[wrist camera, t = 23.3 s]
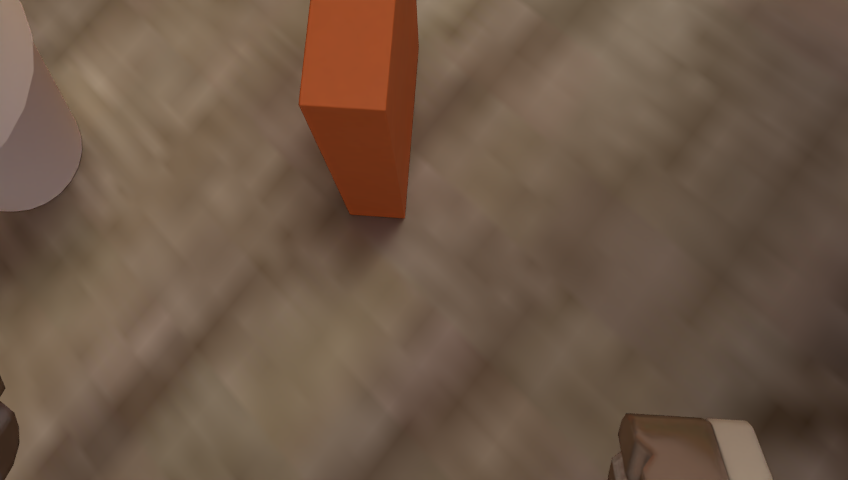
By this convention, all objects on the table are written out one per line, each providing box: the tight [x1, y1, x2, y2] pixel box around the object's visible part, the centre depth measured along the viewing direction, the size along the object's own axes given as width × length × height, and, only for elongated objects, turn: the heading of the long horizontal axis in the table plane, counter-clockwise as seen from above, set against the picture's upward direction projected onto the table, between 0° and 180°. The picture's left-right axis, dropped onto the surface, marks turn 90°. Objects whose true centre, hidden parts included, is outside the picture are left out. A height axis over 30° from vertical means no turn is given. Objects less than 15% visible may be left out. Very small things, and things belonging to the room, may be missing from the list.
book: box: [299, 0, 419, 218], centre depth 35 cm, size 3×10×16 cm, turn 176°
